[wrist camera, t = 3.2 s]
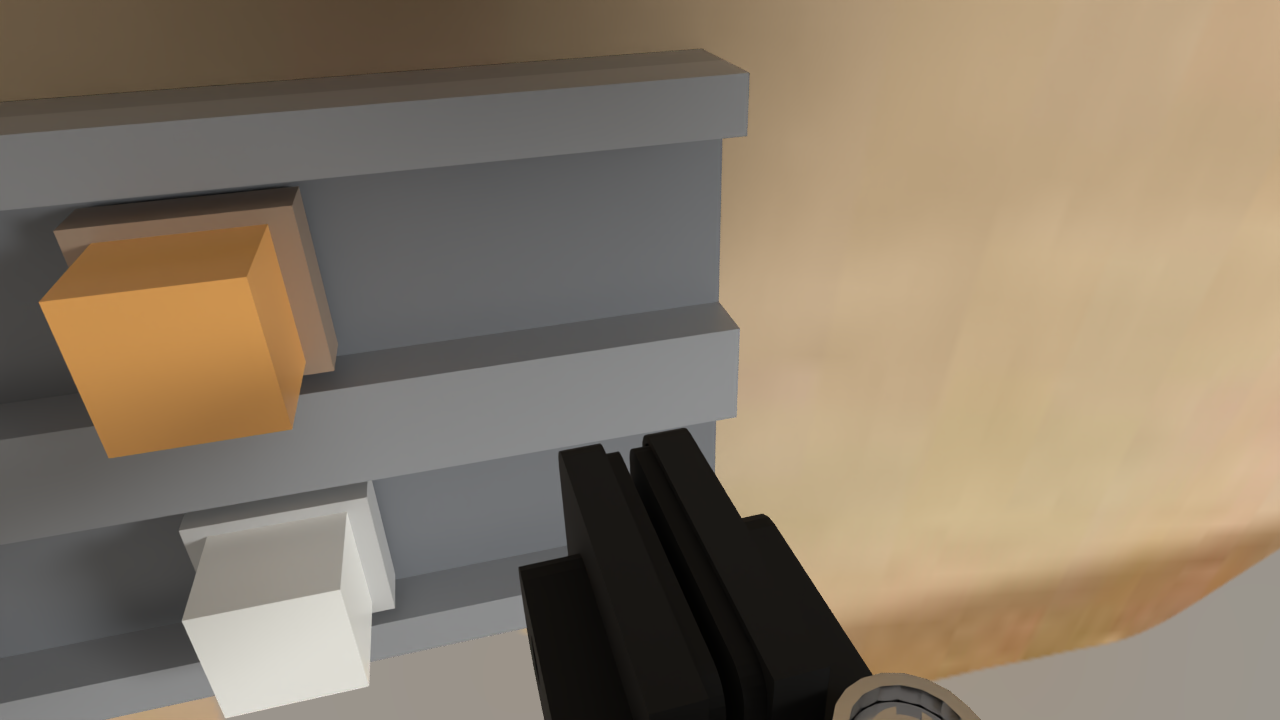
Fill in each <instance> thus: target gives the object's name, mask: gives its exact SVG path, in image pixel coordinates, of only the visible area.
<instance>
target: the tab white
mask: <svg viewBox="0 0 1280 720" xmlns="http://www.w3.org/2000/svg"><path fill="white" fill-rule="evenodd" d="M179 533H180V536H181V538H182V540H183V543H184V545H185V548H186V550H187V552H188V555H189V557H190V559H191V562H192V564H193V567H194V569H195V571H196V575H195V578H194V582H193V585H192V588H191V592H190V595H189V598H188V602H187V605H186V608H185V612H184V615H183V618H182V623H183V625H184V627H185V629H186V632H187V634H188V636H189V638H190V641H191V643H192V645H193V647H194V650H195V652H196V654H197V656H198V658H199V661H200V663H201V665H202V667H203V670H204V672H205V674H206V676H207V678H208V681H209V683H210V685H211V687H212V690H213V692H214V694H215V696H216V699H217V701H218V703H219V705H220V707H221V710H222V712H223V714H224V716H225V718H229V717H233V716H238V715H242V714H247V713H251V712H255V711H260V710H265V709H269V708H273V707H278V706H283V705H287V704H292V703H296V702H300V701H305V700H309V699H314V698H318V697H323V696H327V695H331V694H336V693H341V692H345V691H350V690H354V689H359V688H363V687H367V686H369V673H370V650H371V624H372V613H374V612H379V611H384V610H389V609H394V608H395V572H394V567H393V563H392V559H391V555H390V551H389V547H388V543H387V539H386V535H385V531H384V527H383V523H382V519H381V515H380V511H379V507H378V503H377V499H376V495H375V491H374V487H373V483H372V480H371V481H366V482H360V483H354V484H348V485H343V486H337V487H331V488H325V489H320V490H314V491H308V492H302V493H297V494H291V495H285V496H279V497H274V498H268V499H262V500H256V501H251V502H245V503H239V504H233V505H228V506H222V507H216V508H210V509H205V510H199V511H193V512H187V513H185V514H184V517H183V519H182V522H181V525H180V528H179Z"/></svg>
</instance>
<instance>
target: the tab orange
mask: <svg viewBox="0 0 1280 720" xmlns="http://www.w3.org/2000/svg"><path fill="white" fill-rule="evenodd" d="M53 232H54V234H55V237H56V239H57V241H58V244H59V246H60V249H61V251H62V253H63V256H64V258H65V260H66V263H67V265H68V270H67V271H66V272H65V273H64V274H63V275H62V276H61V277H60V279H59V280H58V281H57V282H56V283H55V284H54V285H53V287H52V288H51V289H50V290H49V291H48V292H47V293H46V294H45V296H44V297H43V298H42V299H41V300H40V301H39V304H40V306H41V309H42V311H43V313H44V315H45V317H46V320H47V322H48V324H49V326H50V329H51V331H52V333H53V335H54V338H55V340H56V342H57V344H58V346H59V349H60V351H61V353H62V355H63V358H64V360H65V362H66V364H67V367H68V369H69V371H70V373H71V375H72V378H73V380H74V382H75V384H76V387H77V389H78V391H79V393H80V395H81V398H82V400H83V402H84V404H85V407H86V409H87V411H88V413H89V416H90V418H91V420H92V422H93V424H94V427H95V429H96V431H97V433H98V436H99V438H100V440H101V442H102V444H103V447H104V449H105V451H106V453H107V456H108V458H116V457H122V456H128V455H134V454H141V453H147V452H153V451H160V450H166V449H172V448H179V447H185V446H191V445H198V444H204V443H210V442H216V441H223V440H229V439H235V438H242V437H248V436H254V435H261V434H267V433H273V432H280V431H286V430H292V428H293V423H294V418H295V413H296V408H297V403H298V398H299V393H300V388H301V383H302V378H303V375H310V374H317V373H323V372H330V371H334V370H335V362H336V355H337V348H338V342H337V338H336V334H335V330H334V326H333V322H332V318H331V314H330V310H329V306H328V302H327V298H326V294H325V290H324V286H323V282H322V278H321V274H320V270H319V266H318V262H317V258H316V254H315V250H314V246H313V242H312V238H311V233H310V229H309V225H308V221H307V217H306V213H305V209H304V205H303V201H302V197H301V193H300V189H299V186H296V187H286V188H276V189H267V190H257V191H247V192H237V193H227V194H217V195H207V196H197V197H188V198H178V199H168V200H158V201H148V202H138V203H128V204H119V205H109V206H99V207H89V208H79V209H75V210H74V211H73V212H72V213H71V214H70V215H69V216H68V217H67V218H66V219H65V220H64V221H63V222H62V223H61V224H60V225H59V226H58V227H57V228H56V229H55V230H54V231H53Z"/></svg>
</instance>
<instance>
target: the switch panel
mask: <svg viewBox="0 0 1280 720" xmlns="http://www.w3.org/2000/svg"><path fill="white" fill-rule="evenodd" d="M748 99H749V72H747V71H745V70H743V69H741V68H739V67H737V66H735V65H733V64H731V63H729V62H727V61H725V60H723V59H721V58H719V57H717V56H715V55H713V54H711V53H709V52H707V51H706V50H704V49H692V50H679V51H666V52H653V53H639V54H626V55H613V56H600V57H587V58H574V59H561V60H547V61H534V62H521V63H508V64H495V65H482V66H469V67H455V68H442V69H429V70H416V71H403V72H390V73H377V74H363V75H350V76H337V77H324V78H311V79H298V80H285V81H271V82H258V83H245V84H232V85H219V86H206V87H193V88H179V89H166V90H153V91H140V92H127V93H114V94H101V95H87V96H74V97H61V98H48V99H35V100H22V101H9V102H0V720H105V719H110V718H115V717H119V716H124V715H128V714H133V713H138V712H142V711H147V710H151V709H156V708H161V707H165V706H170V705H174V704H179V703H184V702H188V701H193V700H197V699H202V698H207V697H211V696H215V694H214V692H213V690H212V687H211V685H210V683H209V681H208V678H207V676H206V674H205V672H204V670H203V667H202V665H201V663H200V661H199V658H198V656H197V654H196V652H195V650H194V647H193V645H192V643H191V641H190V638H189V636H188V634H187V632H186V629H185V627H184V625H183V623H182V618H183V615H184V612H185V608H186V605H187V602H188V598H189V595H190V592H191V588H192V585H193V582H194V578H195V575H196V571H195V569H194V567H193V564H192V562H191V559H190V557H189V555H188V552H187V550H186V548H185V545H184V543H183V540H182V538H181V536H180V533H179V528H180V525H181V522H182V519H183V517H184V514H185V513H187V512H193V511H199V510H205V509H210V508H216V507H222V506H228V505H233V504H239V503H245V502H251V501H256V500H262V499H268V498H274V497H279V496H285V495H291V494H297V493H302V492H308V491H314V490H320V489H325V488H331V487H337V486H343V485H348V484H354V483H360V482H366V481H371V480H372V483H373V487H374V491H375V495H376V499H377V503H378V507H379V511H380V515H381V519H382V523H383V527H384V531H385V535H386V539H387V543H388V547H389V551H390V555H391V559H392V563H393V567H394V572H395V608H394V609H389V610H384V611H379V612H374V613H372V624H371V650H370V662H372V661H377V660H381V659H386V658H390V657H395V656H400V655H404V654H409V653H413V652H418V651H423V650H427V649H432V648H437V647H441V646H446V645H450V644H454V643H459V642H464V641H469V640H473V639H478V638H482V637H487V636H492V635H496V634H501V633H506V632H510V631H515V630H519V629H524V628H527V626H526V620H525V613H524V607H523V600H522V593H521V586H520V579H519V570H518V567H520V566H524V565H529V564H534V563H538V562H543V561H547V560H552V559H557V558H561V557H566V556H568V550H567V540H566V531H565V521H564V511H563V501H562V492H561V482H560V472H559V461H558V453H559V451H562V450H567V449H573V448H578V447H583V446H589V445H594V444H599V443H600V444H602V446H603V448H604V450H605V452H606V454H607V453H612V452H620V454H621V455H622V458H623V460H624V462H625V464H626V466H627V469H628V471H629V473H630V459H629V454H630V450H631V449H633V448H639V447H642V441H643V437H644V436H645V435H647V434H653V433H658V432H663V431H669V430H674V429H679V428H687V429H688V431H689V432H690V433H691V435H692V437H693V438H694V440H695V442H696V443H697V445H698V447H699V448H700V450H701V452H702V453H703V455H704V457H705V458H706V460H707V462H708V463H709V465H710V467H711V468H712V470H713V472H714V473H715V440H716V421H717V420H722V419H728V418H734V417H736V416H737V390H738V363H739V337H740V328H739V327H738V326H737V324H736V323H735V322H734V321H733V319H732V318H731V317H730V316H729V314H728V313H727V312H726V310H725V309H724V308H723V307H722V305H721V304H720V303H719V262H720V217H721V173H722V138H732V137H742V136H747V126H748ZM296 186H299V189H300V193H301V197H302V201H303V205H304V209H305V213H306V217H307V221H308V225H309V229H310V233H311V238H312V242H313V246H314V250H315V254H316V258H317V262H318V266H319V270H320V274H321V278H322V282H323V286H324V290H325V294H326V298H327V302H328V306H329V310H330V314H331V318H332V322H333V326H334V330H335V334H336V338H337V342H338V348H337V355H336V362H335V370H334V371H330V372H323V373H317V374H310V375H303V378H302V383H301V388H300V393H299V398H298V403H297V408H296V413H295V418H294V423H293V428H292V430H286V431H280V432H273V433H267V434H261V435H254V436H248V437H242V438H235V439H229V440H223V441H216V442H210V443H204V444H198V445H191V446H185V447H179V448H172V449H166V450H160V451H153V452H147V453H141V454H134V455H128V456H122V457H116V458H108V456H107V453H106V451H105V449H104V447H103V444H102V442H101V440H100V438H99V436H98V433H97V431H96V429H95V427H94V424H93V422H92V420H91V418H90V416H89V413H88V411H87V409H86V407H85V404H84V402H83V400H82V398H81V395H80V393H79V391H78V389H77V387H76V384H75V382H74V380H73V378H72V375H71V373H70V371H69V369H68V367H67V364H66V362H65V360H64V358H63V355H62V353H61V351H60V349H59V346H58V344H57V342H56V340H55V338H54V335H53V333H52V331H51V329H50V326H49V324H48V322H47V320H46V317H45V315H44V313H43V311H42V309H41V306H40V304H39V301H40V300H41V299H42V298H43V297H44V296H45V294H46V293H47V292H48V291H49V290H50V289H51V288H52V287H53V285H54V284H55V283H56V282H57V281H58V280H59V279H60V277H61V276H62V275H63V274H64V273H65V272H66V271H67V270H68V265H67V263H66V260H65V258H64V256H63V253H62V251H61V249H60V246H59V244H58V241H57V239H56V237H55V234H54V232H53V231H54V230H55V229H56V228H57V227H58V226H59V225H60V224H61V223H62V222H63V221H64V220H65V219H66V218H67V217H68V216H69V215H70V214H71V213H72V212H73V211H74V210H75V209H79V208H89V207H99V206H109V205H119V204H128V203H138V202H148V201H158V200H168V199H178V198H188V197H197V196H207V195H217V194H227V193H237V192H247V191H257V190H267V189H276V188H286V187H296Z"/></svg>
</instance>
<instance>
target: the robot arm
mask: <svg viewBox="0 0 1280 720" xmlns="http://www.w3.org/2000/svg"><path fill="white" fill-rule="evenodd" d="M629 459H630V473H629V471H628V469H627V466H626V464H625V462H624V460H623V458H622V455H621V454H620V452H612V453H607V454H606V452H605V450H604V448H603V446H602V444H600V443H599V444H594V445H589V446H583V447H578V448H573V449H567V450H562V451H559V453H558V461H559V472H560V482H561V492H562V501H563V511H564V521H565V531H566V540H567V550H568V556H566V557H561V558H557V559H552V560H547V561H543V562H538V563H534V564H529V565H524V566H520V567H518V570H519V579H520V586H521V593H522V600H523V607H524V613H525V620H526V626H527V632H528V638H529V644H530V650H531V655H532V660H533V666H534V670H535V676H536V681H537V686H538V691H539V696H540V701H541V706H542V710H543V715H544V720H981V719H980V718H979V717H978V716H977V715H976V714H975V713H974V712H973V711H972V710H971V709H970V708H969V707H968V706H967V705H966V704H965V703H963V702H962V701H961V700H960V699H959V698H958V697H956V696H955V695H954V694H952V693H951V692H950V691H949V690H947V689H945V688H943V687H941V686H939V685H937V684H935V683H933V682H932V681H930V680H928V679H924V678H920V677H917V676H913V675H909V674H905V673H879V674H876V675H872V673H871V672H870V670H869V669H868V667H867V666H866V664H865V662H864V661H863V659H862V658H861V656H860V655H859V653H858V652H857V650H856V649H855V647H854V646H853V644H852V642H851V641H850V639H849V638H848V636H847V635H846V633H845V632H844V630H843V629H842V627H841V626H840V624H839V622H838V621H837V619H836V618H835V616H834V615H833V613H832V612H831V610H830V609H829V607H828V606H827V604H826V602H825V601H824V599H823V598H822V596H821V595H820V593H819V592H818V590H817V589H816V587H815V586H814V584H813V582H812V581H811V579H810V578H809V576H808V575H807V573H806V572H805V570H804V569H803V567H802V566H801V564H800V562H799V561H798V559H797V558H796V556H795V555H794V553H793V552H792V550H791V549H790V547H789V546H788V544H787V542H786V541H785V539H784V538H783V536H782V535H781V533H780V532H779V530H778V529H777V527H776V526H775V524H774V523H773V522H772V520H771V519H770V518H769V517H768V516H766V515H764V514H759V515H754V516H750V517H745V518H741V516H740V515H739V513H738V511H737V510H736V508H735V506H734V505H733V503H732V502H731V500H730V498H729V497H728V495H727V493H726V492H725V490H724V488H723V487H722V485H721V483H720V482H719V480H718V478H717V477H716V475H715V473H714V472H713V470H712V468H711V467H710V465H709V463H708V462H707V460H706V458H705V457H704V455H703V453H702V452H701V450H700V448H699V447H698V445H697V443H696V442H695V440H694V438H693V437H692V435H691V433H690V432H689V431H688V429H687V428H679V429H674V430H669V431H663V432H658V433H653V434H647V435H645V436H644V437H643V441H642V447H639V448H633V449H631V450H630V454H629Z"/></svg>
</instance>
